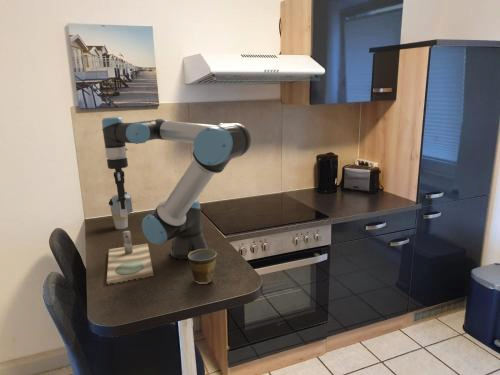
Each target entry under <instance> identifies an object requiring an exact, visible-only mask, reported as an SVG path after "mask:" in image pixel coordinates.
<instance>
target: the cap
mask: <svg viewBox="0 0 500 375" xmlns="http://www.w3.org/2000/svg"><path fill="white" fill-rule="evenodd" d="M120 198H122V197H120ZM125 198H126V205H127V213H128V214H131V213H133V204H132V194H130V193H127V194H125ZM111 199H112V202H113V208H114V214H117V215H120V208H119V202H117V200H118V194H115V195H113V196H111Z"/></svg>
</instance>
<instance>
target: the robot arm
mask: <svg viewBox="0 0 500 375" xmlns="http://www.w3.org/2000/svg"><path fill="white" fill-rule="evenodd" d="M101 127H102V129H101V130H102V134H103V141H104V149H105V151H104V152H105V157H106V158H107V159H106V162H107V163H106V164H107V165H106V166H107V169H110V170H114V171H113V178H114V183H115V185H116V191H117V195H118V200H117V202H119V208H120V216H121V217H126V216H128V217H129V213H127V205H126V198H125V194H128V193H127V192H126V190H125V171H124V170H123V169H125V168H127V167H128V166H129V163H128V158H127V151H129V150H128V148H127V147H126V144H135V145H138V144H145V143H146V142H149V141H153V140H161V141H163V140H164V141H171V142H172V141H173V142H178V143H184V144H185V143H186V144H192V146H193V147H194V148H193V151H192V157H193V159H192V161H191V163H190V164H189V165H188V167H187V169H186V170H185V172H183V174H182V176H181V178H180V179H179V181H178V182H177V183H176V185H175V187H174V188H173V190H172V191H171V193H170V194H169V196H168V197H167V199H165V200H163V201H161V202H159V203H158V204H157V206H156V207H155V209H154V211H153V212H152V213H150V214H147V215H146V216H144V218H143V219H142V220H141V228H142V232H143V235H144V236H145V238H146V239H147V240H148V241H149V242H150V243H151V244H154V245H157V246H158V245H162V244H165V243H167V242H168V241H170V240H172V242H171V247H170V255H171V257H172V258H174V259H176V258H177V260H181V259H188V252H189V251H195V250H199V249H208V244H207V242H206V240H205V237H204V235H203V226H202V213H201V211H202V208H201V203H200V201H199V200H198V198H199V196H201V195H200V194H202V192H203V191H204V190H205V188H206V187H207V185H208V184H209V183H210V181H211V180H212V179H213V177H214V175H215V174H221V173H222V172H223V171H224V169H225V168H227V165H228V164H229V162H230V161H232V160H233V159H236V158H239V157H242V156H243V155H245V154H246V153H247V152H248V151H249V149H250V147H251V145H252V135H251V133H250V131H249V130H248V129H247V127H246V126H244V125H243V124H242V123H238V122H230V123H225V122H221V123H219V124H218V125H215V124H206V123H205V124H204V123H195V122H194V123H193V122H183V121H172V120H167V119H166V118H163V119H162V118H157V119H151V120H144V121H136V122H123V118H122V117H121V116H116V117H115V116H114V117H103V119H102V120H101ZM120 197H122V198H120Z"/></svg>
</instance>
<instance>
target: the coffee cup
mask: <svg viewBox="0 0 500 375" xmlns="http://www.w3.org/2000/svg"><path fill="white" fill-rule="evenodd" d="M108 205H109V206H110V212H111V217H112V220H113V223H114V227H115V229H116V230H124V229H127V228H128V226H129V224H128V222H129V220H128V217H129V215H128V216H126V217H121V216H120V215H117V214H114V208H113V202H112V198H110V199H109V201H108Z"/></svg>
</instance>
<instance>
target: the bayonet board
mask: <svg viewBox="0 0 500 375" xmlns="http://www.w3.org/2000/svg"><path fill="white" fill-rule="evenodd" d="M131 235H132V234H131V230H125V231H122V240H123V247H116V248H115V247H114V248H108V256H107V257H108V258H107V260H108V261H107V271H106V272H107V274H106V285H107V284H108V285H111V284H110V283H114V284H118V283H117V282H120V283H124V282H123V281H125V282H129V281H128V280H131V281H134V280H133V279H136V280H139V279H138V278H142V279H144V278H143V277H148V276H153V277H154V270H153V266H152V265H153V264H152V260H151V253H150V249H149V244H148V243H147V242H146V243H142V244H141V243H140V244H136V245H135V244H134V245H133V242H132V236H131ZM148 278H149V277H148Z"/></svg>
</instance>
